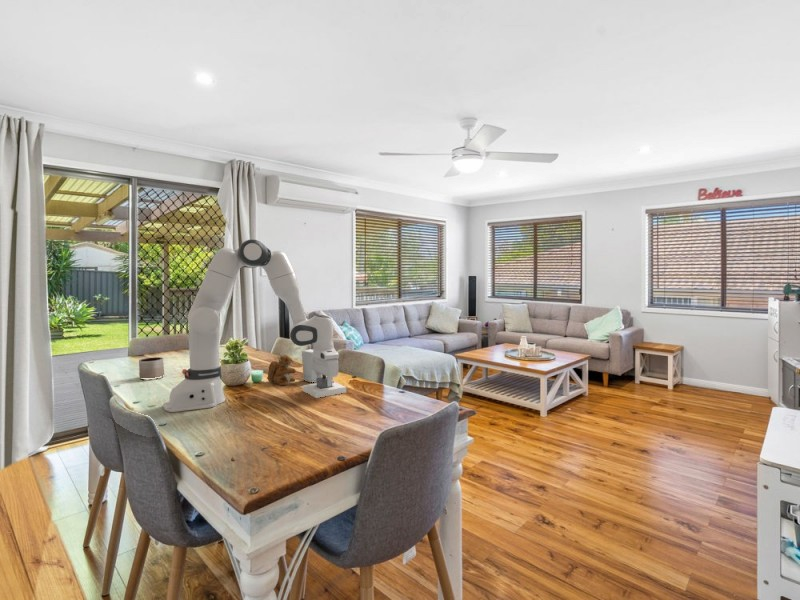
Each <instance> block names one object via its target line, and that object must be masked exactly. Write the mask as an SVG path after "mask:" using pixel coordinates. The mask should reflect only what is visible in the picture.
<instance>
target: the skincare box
mask: <svg viewBox="0 0 800 600" xmlns="http://www.w3.org/2000/svg"><path fill="white" fill-rule="evenodd" d="M312 354H313V348H312V349H305V350H301V360H302V362H301V363H302V375H303V377H302V378H303V381H304V380H305V381H304V382H309V383H311V382H312V383H311V384H314V383H317V381H316V378H317V377H316V372H315V371H313V370H312V369H311V356H312ZM321 377H322V374H321ZM313 382H314V383H313Z"/></svg>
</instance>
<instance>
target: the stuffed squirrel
mask: <svg viewBox="0 0 800 600" xmlns="http://www.w3.org/2000/svg"><path fill="white" fill-rule="evenodd" d="M293 363H294V362H293V359H292V358H291V357H290V356H288V355H286V354H283V355H280V356H278V361H276V360H273V361H271V362H270V364H269V366H268V371H267V377H266V379H267V381H268V382H270V384H276V385H279V386H285V387H286V386H288V385H289V383H292V382H295V381H296V378H295V377H292V375H291V374H295V373H296V371H297V370H296V369H295V368H294V367H290V366H291V364H293Z"/></svg>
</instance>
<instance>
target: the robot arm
mask: <svg viewBox="0 0 800 600" xmlns="http://www.w3.org/2000/svg"><path fill="white" fill-rule="evenodd" d="M241 268H247V269H255V268H262V269H263V270H264V272H265V273H266V277H267V278H268V282H269V285H270V287H271V289H272V291H273V292H274V294H275V296H277V297H278V298H279V299H280V300H281V301H282V302H283V303H284V304H285V306H286V309H287V310H288V313H289V315H290V318H291V320H292V329H291V331H290V335H289V336H290V337H289V338H290V341H291V342H292V343H293V344H294V345H296V346H300V347H305V346H309V345H312V349H313V354H312V356H311V369H312V370H313V371H315V372H316V377H317V378H321V374H323V375H325V376H326V377H327V379H328V380H327V382H326V385H327V386H331V385H332V380H333V379H334V378H335V377H336V378H337V377H338V375H339V360H338V359H339V358H340V354H339V352H338V351H337V350H336V349H335V347H334V345H335V343H334V324H333V319H332V318H331V317H329V316H327V315H324V314H315V315H313V316H312V317H311V318H308V317H307V315H306V313H305V309H304V307H303V304H302V302H301V298H300V292H299V283H298V281H297V280H298V279H297V277H296V273H295V269H294V267H293V265H292V263H291V261H290V259H289V257H288V255H287V254H286V253H285V252H284V251H282V250H274V251H271V250H270V248H268V247H267V246H266V245H265V244H264V243H263V242H261V241H259V240H257V239H252V238H251V239H246V240H245V241H243V242H242V243H241V244H240V246H239V247H238V248H237V249H232V248H229V247H222V248H219V249H218V250H217V251H216V253H215V254H214V256H213V258H212V259H211V261H210V263H209V265H208V267H207V270H206V272H205V275H204V276H203V277H204V278H203V279H202V283H201V284H200V287H199V290H198V291H197V293H196V296H195V298H194V300H193V302H192V304H191V307H190V309H189V312H188V314H187V323H188V342H189V343H188V350H189V368H188V369H186V368H184V369H182V370H181V374H182V375H184V379H183V380H182V381H180V382H179V383H178V384H177V385H175V386H174V387H173V388H172V389H171V391H170V394H169V400H168V401H165V402H164V403H163V406H162V408H163V410H164V411H166V412H168V413H169V412H170V413H177V412H183V411H193V410H200V409H207V408H208V409H209V408H214V407H216V406H217V405H219V404H222V403H224V402H225V401H226V397H225V394H224V391H223V386H222V378H223V377H222V376H223V374H222V366H221V363H220V362H221V360H220V359H221V358H220V337H221V336H220V331H221V330H220V329H221V327H220V326H221V325H220V323H221V321H220V314H221V312H222V309H223V307H224V305H225V304H226V301H227V299H228V298H229V296H230V294H231V290H232V288H233V285H234V283H235V279H236V278H237V275H238V273H239V270H240V269H241ZM333 381H334V380H333Z"/></svg>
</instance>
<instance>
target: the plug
mask: <svg viewBox="0 0 800 600" xmlns="http://www.w3.org/2000/svg"><path fill="white" fill-rule="evenodd" d="M327 380H328V379H327V376H325V375H323V374H322V377H321V378H316V381H317V382H316V383H317V388H319V389H324V388H329V387H332V385H331V386H327V385H326V382H327Z"/></svg>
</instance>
